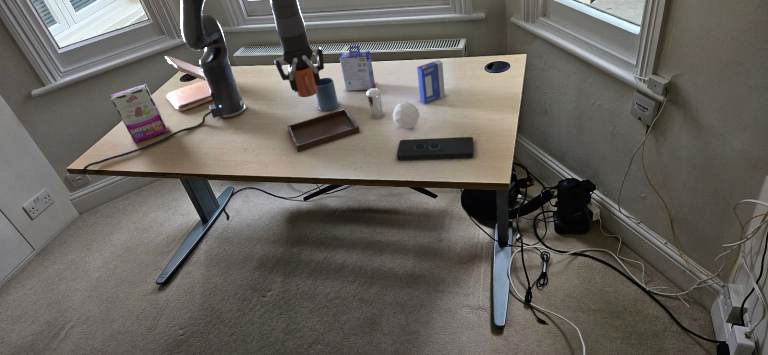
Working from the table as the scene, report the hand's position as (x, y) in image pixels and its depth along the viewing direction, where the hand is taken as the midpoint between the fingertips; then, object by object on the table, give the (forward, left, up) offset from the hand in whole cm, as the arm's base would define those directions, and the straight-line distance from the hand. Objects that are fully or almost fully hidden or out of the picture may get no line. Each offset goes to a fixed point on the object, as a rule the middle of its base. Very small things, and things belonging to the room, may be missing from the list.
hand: (306, 87), depth 137 cm
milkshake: (+19, -2, -15) cm, 24 cm away
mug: (0, -1, -2) cm, 2 cm away
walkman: (+38, -2, -15) cm, 41 cm away
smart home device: (+26, -31, -15) cm, 43 cm away
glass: (+7, +14, -14) cm, 21 cm away
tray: (+1, -2, -14) cm, 15 cm away
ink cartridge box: (+21, +22, -15) cm, 34 cm away
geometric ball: (+24, -14, -15) cm, 32 cm away
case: (-35, +56, -15) cm, 67 cm away
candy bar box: (-52, +32, -15) cm, 62 cm away
